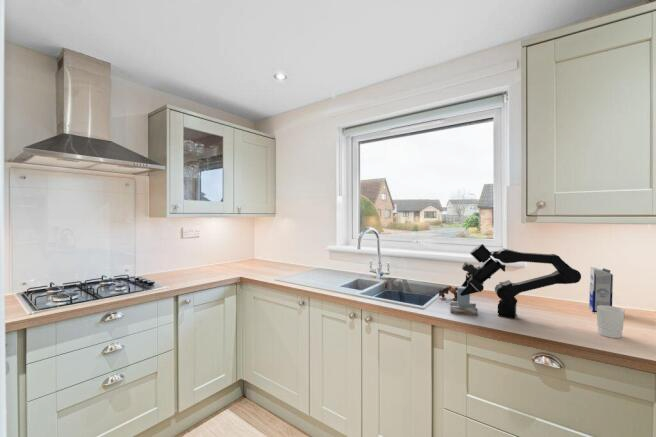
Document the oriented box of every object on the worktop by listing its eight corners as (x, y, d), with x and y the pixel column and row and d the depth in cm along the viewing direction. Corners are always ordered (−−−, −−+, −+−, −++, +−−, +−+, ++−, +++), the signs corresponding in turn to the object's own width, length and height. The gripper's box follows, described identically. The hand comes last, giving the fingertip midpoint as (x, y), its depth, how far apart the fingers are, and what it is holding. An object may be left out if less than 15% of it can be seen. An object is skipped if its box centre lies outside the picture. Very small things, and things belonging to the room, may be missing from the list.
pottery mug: (451, 305, 160) (443, 289, 163) (440, 308, 169) (432, 293, 171) (468, 296, 165) (460, 281, 167) (457, 299, 173) (449, 285, 176)
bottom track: (475, 309, 151) (475, 303, 151) (477, 315, 143) (477, 308, 143) (450, 307, 155) (450, 301, 155) (450, 312, 147) (450, 306, 147)
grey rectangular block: (468, 308, 150) (469, 287, 149) (469, 310, 146) (469, 288, 146) (457, 307, 151) (457, 286, 151) (457, 309, 148) (457, 288, 148)
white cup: (620, 340, 116) (621, 313, 116) (592, 333, 123) (593, 307, 122) (626, 335, 121) (627, 309, 120) (599, 329, 127) (600, 304, 127)
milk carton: (589, 308, 153) (590, 266, 153) (607, 310, 150) (608, 267, 149) (592, 312, 147) (594, 268, 146) (611, 315, 144) (613, 270, 143)
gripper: (471, 254, 155) (446, 275, 160) (475, 260, 138) (447, 283, 142) (489, 271, 153) (464, 292, 157) (495, 279, 136) (466, 303, 140)
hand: (460, 292), depth 149 cm, fingers open, 9 cm apart
